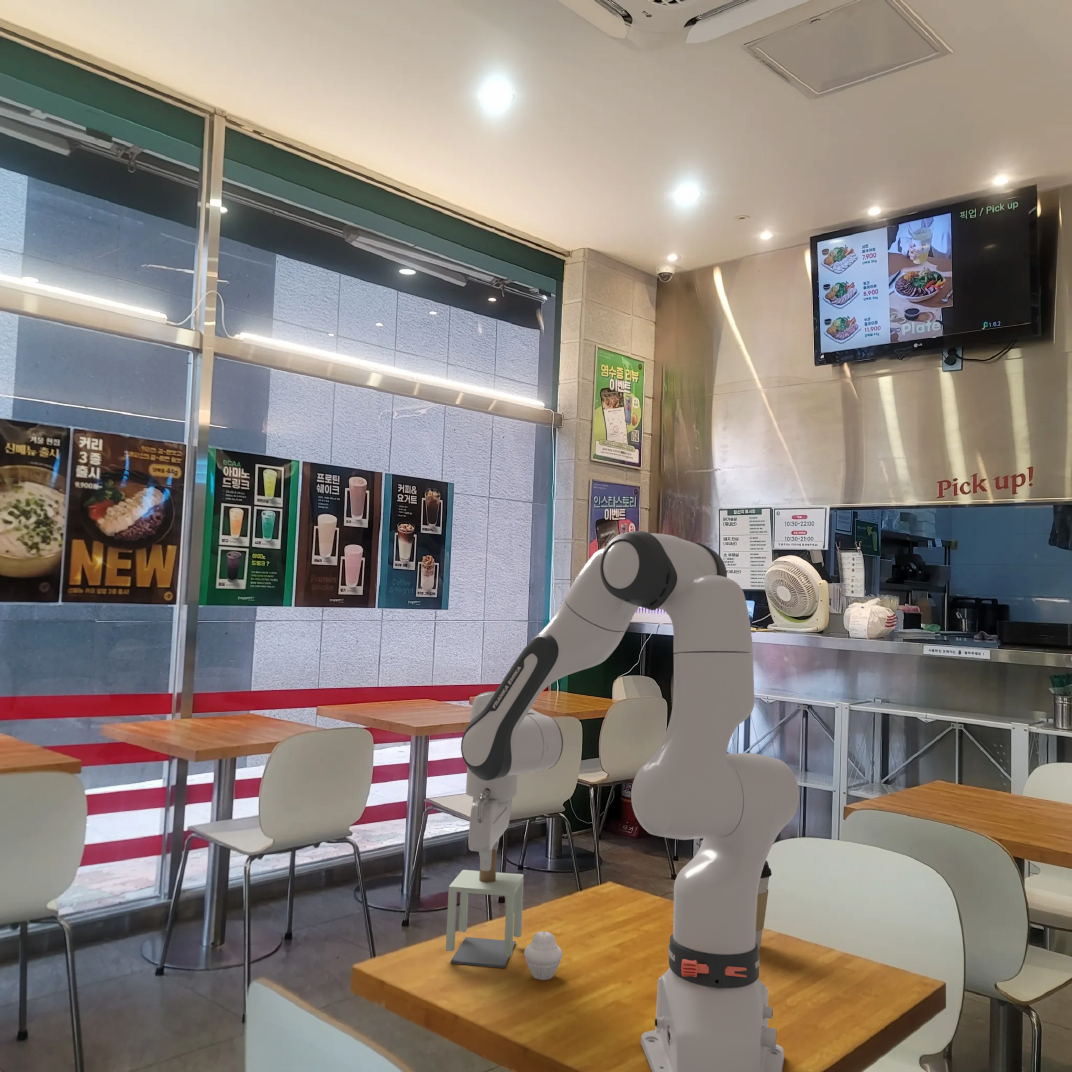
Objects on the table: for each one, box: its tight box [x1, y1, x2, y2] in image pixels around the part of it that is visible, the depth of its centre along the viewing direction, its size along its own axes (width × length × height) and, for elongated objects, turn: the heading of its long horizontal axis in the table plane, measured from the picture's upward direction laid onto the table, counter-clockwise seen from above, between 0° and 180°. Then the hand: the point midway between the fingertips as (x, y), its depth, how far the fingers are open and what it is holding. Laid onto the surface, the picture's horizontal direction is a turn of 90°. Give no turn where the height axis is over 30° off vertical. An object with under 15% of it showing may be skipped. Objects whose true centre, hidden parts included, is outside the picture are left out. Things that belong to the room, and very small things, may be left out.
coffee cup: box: [756, 860, 773, 951], centre depth 166 cm, size 10×10×15 cm
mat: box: [450, 936, 517, 969], centre depth 157 cm, size 12×9×1 cm
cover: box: [445, 849, 525, 957], centre depth 157 cm, size 11×11×15 cm
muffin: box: [523, 931, 563, 981], centre depth 148 cm, size 6×6×7 cm
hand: (488, 866), depth 158 cm, fingers closed on cover, 3 cm apart
